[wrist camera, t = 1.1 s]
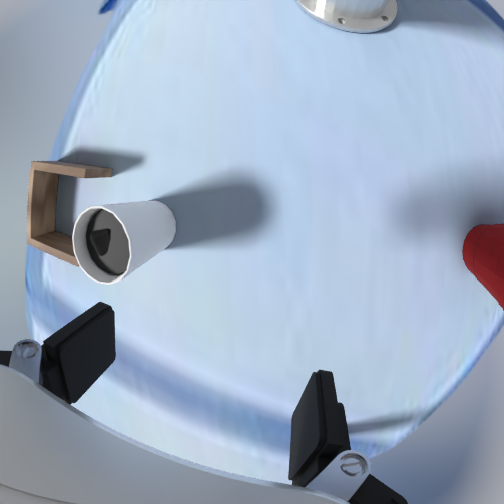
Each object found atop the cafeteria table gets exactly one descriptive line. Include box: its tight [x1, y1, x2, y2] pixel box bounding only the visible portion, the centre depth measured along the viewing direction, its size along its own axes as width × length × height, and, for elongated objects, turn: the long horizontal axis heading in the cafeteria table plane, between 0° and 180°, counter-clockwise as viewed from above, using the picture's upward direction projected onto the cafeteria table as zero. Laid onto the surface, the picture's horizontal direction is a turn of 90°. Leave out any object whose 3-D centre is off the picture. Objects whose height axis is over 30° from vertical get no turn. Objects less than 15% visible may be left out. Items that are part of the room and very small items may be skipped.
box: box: [27, 161, 112, 267], centre depth 28 cm, size 11×11×5 cm
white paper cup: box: [72, 201, 176, 285], centre depth 25 cm, size 7×7×10 cm
